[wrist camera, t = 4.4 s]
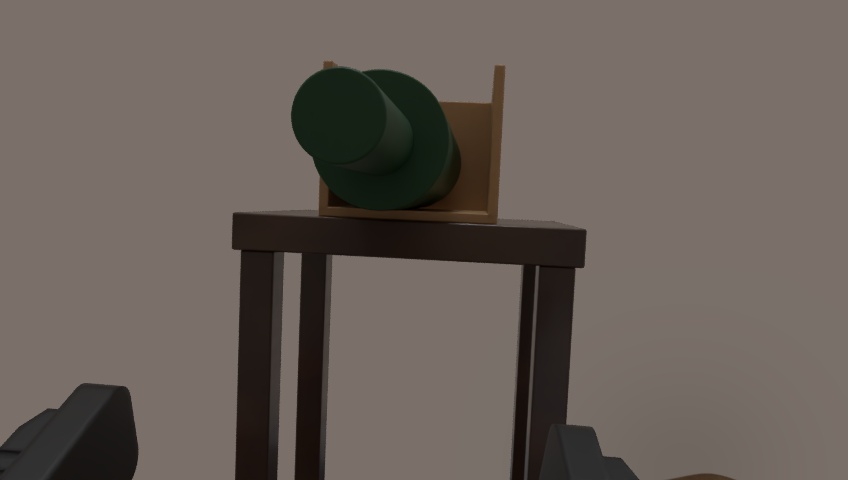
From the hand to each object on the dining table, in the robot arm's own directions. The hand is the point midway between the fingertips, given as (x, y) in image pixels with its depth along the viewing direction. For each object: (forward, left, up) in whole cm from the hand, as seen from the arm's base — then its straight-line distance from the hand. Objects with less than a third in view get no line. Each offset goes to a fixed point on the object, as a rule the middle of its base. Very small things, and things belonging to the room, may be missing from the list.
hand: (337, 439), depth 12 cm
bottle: (0, +13, +4) cm, 13 cm away
